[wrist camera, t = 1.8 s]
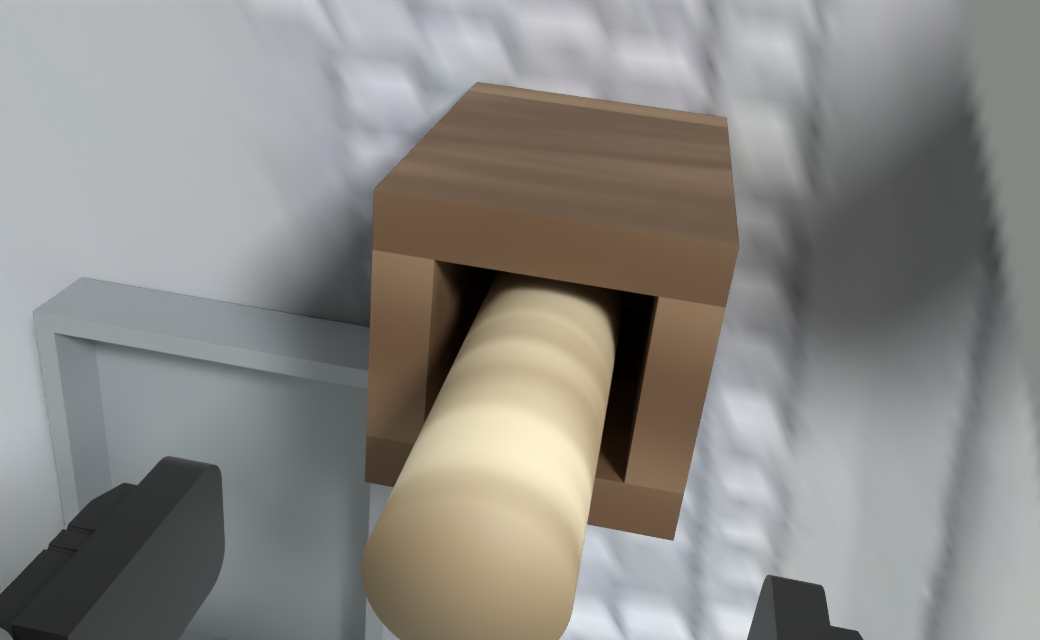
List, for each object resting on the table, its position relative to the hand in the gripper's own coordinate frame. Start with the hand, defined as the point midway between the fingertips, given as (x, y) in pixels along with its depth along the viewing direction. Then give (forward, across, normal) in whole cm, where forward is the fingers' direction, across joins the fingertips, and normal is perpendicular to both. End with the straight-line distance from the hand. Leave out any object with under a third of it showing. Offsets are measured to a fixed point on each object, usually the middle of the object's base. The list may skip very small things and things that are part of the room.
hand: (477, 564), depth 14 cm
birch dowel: (+13, 0, 0) cm, 13 cm away
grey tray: (+14, +10, +12) cm, 21 cm away
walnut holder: (+14, 0, 0) cm, 14 cm away
